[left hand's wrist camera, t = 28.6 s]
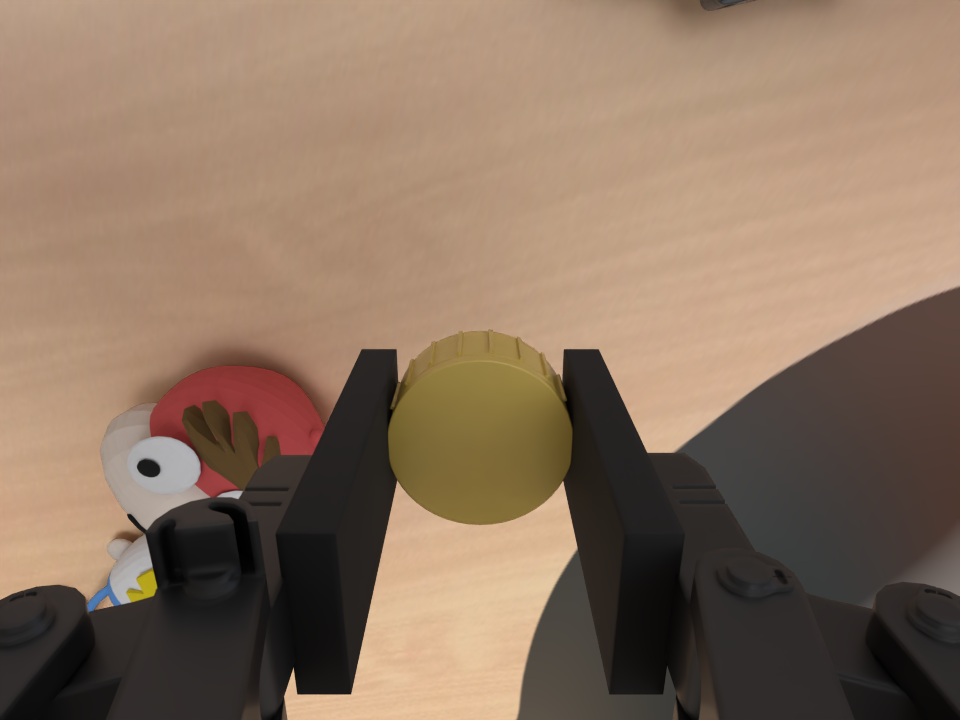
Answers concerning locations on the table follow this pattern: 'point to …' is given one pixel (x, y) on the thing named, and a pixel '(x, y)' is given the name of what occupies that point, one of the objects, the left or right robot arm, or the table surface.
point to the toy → (196, 454)
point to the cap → (480, 429)
